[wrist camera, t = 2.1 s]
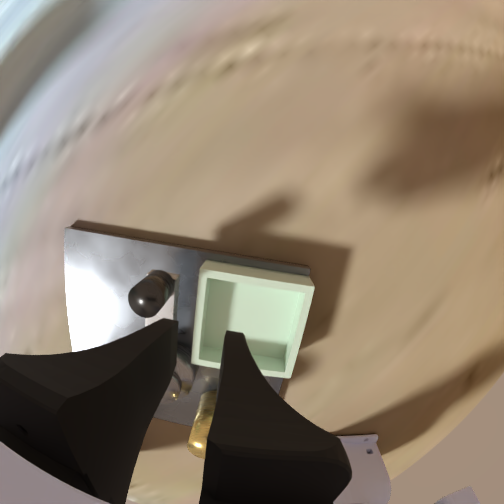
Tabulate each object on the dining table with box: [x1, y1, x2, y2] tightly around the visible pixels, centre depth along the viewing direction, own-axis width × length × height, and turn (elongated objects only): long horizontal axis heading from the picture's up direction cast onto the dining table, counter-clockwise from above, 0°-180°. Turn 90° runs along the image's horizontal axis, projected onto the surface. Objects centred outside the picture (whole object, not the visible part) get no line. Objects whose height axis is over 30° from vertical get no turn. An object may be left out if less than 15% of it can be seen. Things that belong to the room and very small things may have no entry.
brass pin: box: [187, 391, 217, 459], centre depth 19 cm, size 3×3×6 cm
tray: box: [191, 260, 315, 378], centre depth 19 cm, size 7×7×2 cm
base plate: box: [64, 226, 310, 426], centre depth 20 cm, size 19×17×4 cm
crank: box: [128, 269, 182, 404], centre depth 16 cm, size 10×3×4 cm, turn 171°
